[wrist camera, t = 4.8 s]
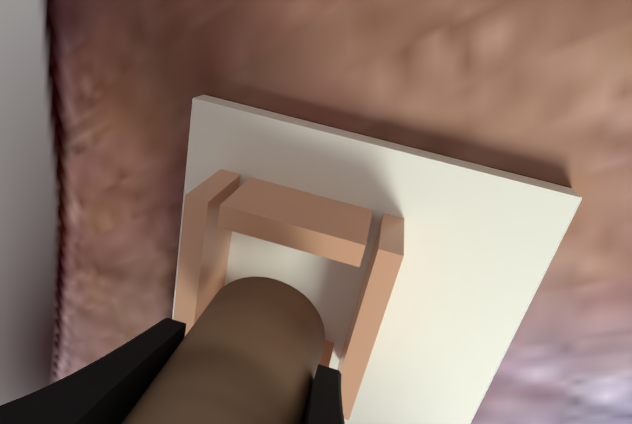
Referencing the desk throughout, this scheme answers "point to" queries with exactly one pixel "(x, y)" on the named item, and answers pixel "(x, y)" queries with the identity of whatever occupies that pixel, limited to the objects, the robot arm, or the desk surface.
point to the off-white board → (419, 251)
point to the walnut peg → (240, 360)
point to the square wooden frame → (295, 232)
